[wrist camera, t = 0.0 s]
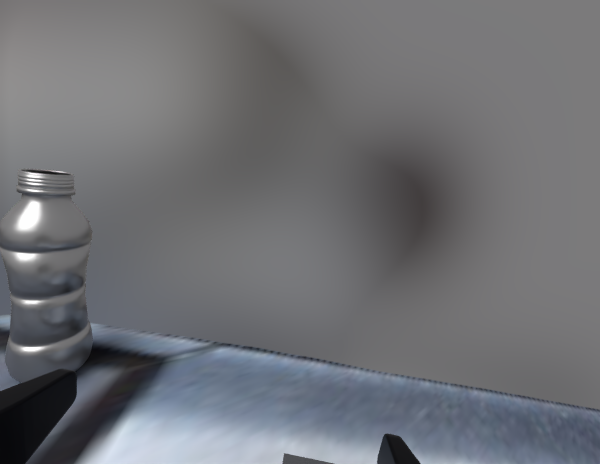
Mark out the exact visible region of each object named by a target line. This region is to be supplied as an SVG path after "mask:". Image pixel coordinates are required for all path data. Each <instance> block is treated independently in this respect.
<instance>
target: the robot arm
mask: <svg viewBox="0 0 600 464" xmlns="http://www.w3.org/2000/svg"><path fill="white" fill-rule="evenodd" d="M76 395H77V375H76V372H75V371H73V370H68V369H57V370H55V371H52V372H49V373H47V374H44V375H41V376H39V377H36V378H34V379H31V380H28V381H26V382H23V383H21V384H18V385H15V386H13V387H10V388H7V389H5V390H2V391H0V464H25V463H26V462H27V461H28V460H29V459H30V457H31V456H32V455H33V454H34V453H35V451H36V450H37V449H38V447H39V446H40V445H41V444H42V442H43V441H44V440H45V439H46V437H47V436H48V435H49V433H50V432H51V431H52V430H53V428H54V427H55V426H56V425H57V423H58V422H59V421H60V419H61V418H62V417H63V416H64V414H65V413H66V412H67V411H68V409H69V408H70V407H71V405H72V404H73V402H74V401H75V398H76ZM377 464H420V462H419V461H418V460H417V458H416V457H415V456H414V454H413V453H412V452H411V450H410V449H409V448H408V446H407V445H406V444H405V442H404V441H403V440H402V438H401V437H399V436H397V435H392V434H385V435H384V436H383V439H382V443H381V447H380V450H379V454H378V459H377Z"/></svg>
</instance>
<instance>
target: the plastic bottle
mask: <svg viewBox="0 0 600 464" xmlns="http://www.w3.org/2000/svg"><path fill="white" fill-rule="evenodd" d="M17 192H19V193H22V197H21V200H19V202H17V203H16V204H15V205H14V206H13V207H12V208H11V209H10V210H9V212H7V214H6V215H5V216H4V217H3V219H2V220H1V221H0V252H1V255H2V258H3V262H4V265H5V269H6V272H7V277H8V284H9V290H10V292H11V293H10V297H11V304H12V305H11V322H10V336H9V339H8V343H7V347H6V355H5V363H6V366H7V368H8V371H9V374H10V376H11V377H12V378H13V379H15V380H17V381H19V382H21V383H23V382H26V381H28V380H31V379H34V378H36V377H39V376H41V375H44V374H47V373H49V372H52V371H55V370H57V369H68V370H73V371H77V370H78V369H79V368H80V367H81V366H82V365H83V364H84V362H85V361H86V360H87V359H88V357H89V356H90V353H91V348H92V344H93V335H92V329H91V325H90V322H89V320H88V314H87V305H86V297H85V287H86V284H85V281H86V271H87V270H86V269H87V262H88V257H89V251H90V245H91V240H92V229H91V226H90V224H89V221H88V219H87V218H86V217H85V215H84V214H83V212H82V211H81V210H80V209H79V208H78V207H77V206H76V205H75V204H74V202H73V201H72V198H71V195H75V189H74V175H73V174H71V173H66V172H60V171H52V170H51V171H50V170H40V169H19V170H18V185H17Z"/></svg>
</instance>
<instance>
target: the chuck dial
mask: <svg viewBox="0 0 600 464" xmlns="http://www.w3.org/2000/svg"><path fill="white" fill-rule="evenodd" d="M282 464H333V463H328V462H324V461H319V460H314V459H309V458H304V457H299V456H295V455H290V454H285V453H284V458H283V463H282Z"/></svg>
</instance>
